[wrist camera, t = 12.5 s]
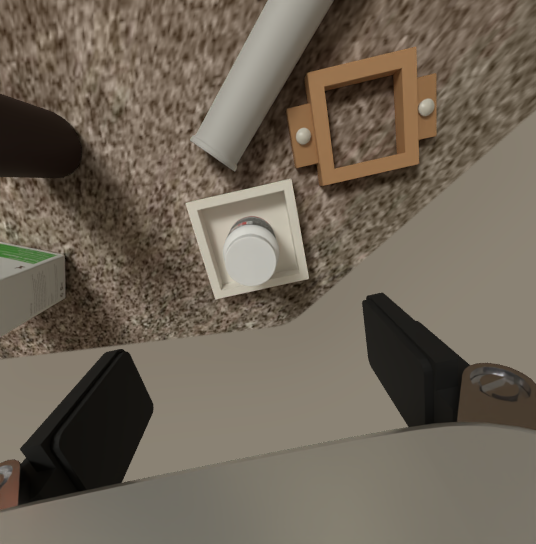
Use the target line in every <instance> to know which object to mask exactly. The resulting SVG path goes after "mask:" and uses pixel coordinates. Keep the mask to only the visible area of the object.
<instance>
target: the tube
mask: <svg viewBox="0 0 536 544" xmlns="http://www.w3.org/2000/svg"><path fill="white" fill-rule="evenodd" d="M333 1H334V0H268V1H267V3H266V5H265V7H264V9H263V11H262V12H261V14H260V16H259V18H258V20H257V22H256V24H255V26H254V27H253V29H252V31H251V33H250V35H249V37H248V39H247V40H246V42H245V44H244V46H243V48H242V50H241V52H240V54H239V55H238V57H237V59H236V61H235V63H234V65H233V67H232V68H231V70H230V72H229V74H228V76H227V78H226V80H225V82H224V83H223V85H222V87H221V89H220V91H219V93H218V95H217V96H216V98H215V100H214V102H213V104H212V106H211V108H210V110H209V111H208V113H207V115H206V117H205V119H204V121H203V123H202V124H201V126H200V128H199V130H198V132H197V133H196V135H195V136H192V137H191V139H190V141H191V142H193V143H194V144H196V145H197V146H199V147H200V148H201V149H203V150H204V151H206V152H207V153H209V154H210V155H211V156H213V157H214V158H216V159H217V160H219V161H220V162H221V163H223V164H224V165H226V166H227V167H229V168H230V169H232V170H233V171H234V172H235V171H236V169H237V164H238V162H239V160H240V158H241V157H242V155H243V153H244V152H245V150H246V148H247V146H248V145H249V143H250V141H251V140H252V138H253V136H254V135H255V133H256V131H257V130H258V128H259V126H260V124H261V123H262V121H263V119H264V118H265V116H266V114H267V113H268V111H269V109H270V108H271V106H272V104H273V103H274V101H275V99H276V97H277V96H278V94H279V92H280V91H281V89H282V87H283V86H284V84H285V82H286V81H287V79H288V77H289V75H290V74H291V72H292V70H293V69H294V67H295V65H296V64H297V62H298V60H299V59H300V57H301V55H302V54H303V52H304V50H305V48H306V47H307V45H308V43H309V42H310V40H311V38H312V37H313V35H314V33H315V32H316V30H317V28H318V27H319V25H320V23H321V21H322V20H323V18H324V16H325V15H326V13H327V11H328V10H329V8H330V6H331V5H332V3H333Z"/></svg>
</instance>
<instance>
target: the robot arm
mask: <svg viewBox="0 0 536 544" xmlns="http://www.w3.org/2000/svg"><path fill="white" fill-rule="evenodd" d="M362 305H363V315H364V324H365V333H366V342H367V351H368V359H369V362H370V365H371V367H372V369H373V371H374V372H375V374H376V375H377V377H378V379H379V380H380V382H381V383H382V385H383V387H384V388H385V390H386V392H387V393H388V395H389V396H390V398H391V400H392V401H393V403H394V404H395V406H396V408H397V409H398V411H399V412H400V414H401V416H402V417H403V419H404V420H405V422H406V424H407V425H408V427H406V428H400V429H394V430H388V431H383V432H377V433H372V434H366V435H361V436H355V437H349V438H344V439H339V440H334V441H329V442H323V443H318V444H313V445H308V446H303V447H298V448H293V449H287V450H283V451H277V452H272V453H267V454H262V455H257V456H252V457H247V458H242V459H237V460H232V461H227V462H222V463H217V464H212V465H207V466H202V467H197V468H192V469H187V470H182V471H177V472H173V473H167V474H163V475H157V476H153V477H148V478H143V479H138V480H134V481H128V482H124V483H122V480H123V478H124V476H125V474H126V472H127V469H128V467H129V465H130V462H131V460H132V458H133V456H134V454H135V451H136V449H137V447H138V445H139V442H140V440H141V438H142V436H143V434H144V431H145V429H146V427H147V425H148V422H149V420H150V418H151V416H152V413H153V403H152V400H151V398H150V396H149V394H148V392H147V390H146V387H145V385H144V383H143V381H142V379H141V377H140V375H139V373H138V371H137V368H136V366H135V364H134V362H133V360H132V358H131V356H130V354H129V353H128V352H125V351H124V350H123V349H119V350H114V351H109V352H106V353H105V354H103V356H102V357H101V358H100V359H99V360H98V361H97V362H96V363H95V365H94V366H93V367H92V368H91V369H90V370H89V371H88V372H87V374H86V375H85V376H84V377H83V378H82V379H81V380H80V382H79V383H78V384H77V385H76V386H75V387H74V388H73V389H72V391H71V392H70V393H69V394H68V395H67V396H66V397H65V399H64V400H63V401H62V402H61V403H60V404H59V405H58V407H57V408H56V409H55V410H54V411H53V412H52V413H51V414H50V416H49V417H48V418H47V419H46V420H45V421H44V422H43V423H42V425H41V426H40V427H39V428H38V429H37V430H36V431H35V433H34V434H33V435H32V436H31V437H30V438H29V439H28V441H27V442H26V443H25V444H24V445H23V446H22V447H21V448H20V450H21V451H22V453H23V454H24V455H25V457H26V459H25V460H24V461H23V462H22V463H21V464H20V462H19V461H17V460H15V459H14V460H7V461H4V462H1V463H0V544H536V384H535V383H534V382H533V380H532V379H531V378H529V377H528V376H526V375H524V374H523V373H521V372H519V371H517V370H514V369H512V368H510V367H507V366H503V365H499V364H492V363H477V364H473V365H469V364H468V363H467V362H466V361H465V360H463V359H462V358H461V357H460V356H459V355H457V354H456V353H455V352H454V351H453V350H452V349H450V348H449V347H448V346H447V345H446V344H445V343H443V342H442V341H441V340H440V339H439V338H438V337H436V336H435V335H434V334H433V333H432V332H430V331H429V330H428V329H427V328H426V327H425V326H423V325H422V324H421V323H420V322H418V321H415V320H413V319H412V318H411V317H410V316H409V315H408V314H407V313H405V312H404V311H403V310H402V309H401V308H400V307H399V306H397V305H396V304H395V303H394V302H393V301H392V300H391V299H389V298H388V297H387V296H386V295H385V294H384V293H378V294H374V295H369V296H367V298H366V300H364V301H363V302H362Z"/></svg>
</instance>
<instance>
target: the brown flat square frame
mask: <svg viewBox="0 0 536 544" xmlns="http://www.w3.org/2000/svg"><path fill="white" fill-rule="evenodd" d="M390 75H393V83H394V103H395V124H396V144H397V154H396V155H392V156H387V157H383V158H379V159H374V160H370V161H366V162H361V163H357V164H352V165H348V166H344V167H339V168H335V169H334V162H333V154H332V146H331V138H330V130H329V122H328V114H327V106H326V98H325V91H327V90H331V89H336V88H340V87H344V86H348V85H352V84H357V83H361V82H365V81H369V80H373V79H378V78H382V77H386V76H390ZM304 82H305V89H306V96H307V103H308V104H304V105H300V106H296V107H292V108H288V109H286V116H287V122H288V128H289V134H290V140H291V146H292V151H293V157H294V163H295V168H299V167H304V166H308V165H312V164H316V165H317V172H318V179H319V186H324V185H329V184H333V183H337V182H342V181H346V180H350V179H355V178H359V177H364V176H368V175H372V174H377V173H381V172H386V171H390V170H394V169H399V168H403V167H407V166H412V165H416V164H419V141H418V140H421V139H425V138H429V137H433V136H436V73H435V74H431V75H427V76H423V77H418V78H417V60H416V47H412V48H408V49H404V50H400V51H396V52H392V53H387V54H383V55H379V56H375V57H371V58H367V59H362V60H358V61H354V62H350V63H346V64H342V65H337V66H333V67H329V68H325V69H321V70H317V71H312V72H308V73H307V74H306V76H305V79H304Z"/></svg>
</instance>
